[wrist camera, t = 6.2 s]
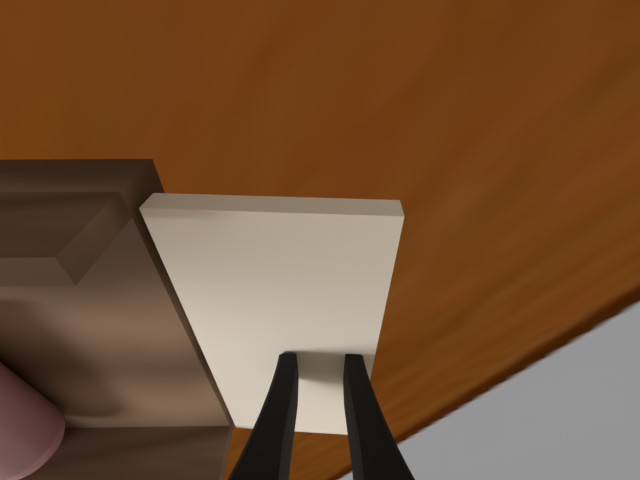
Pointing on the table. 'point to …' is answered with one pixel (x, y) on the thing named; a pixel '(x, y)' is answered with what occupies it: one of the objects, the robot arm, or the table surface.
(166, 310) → the brown wooden open box
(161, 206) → the cream flat board
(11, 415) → the pink tapered cylinder
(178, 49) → the table surface
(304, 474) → the table surface
